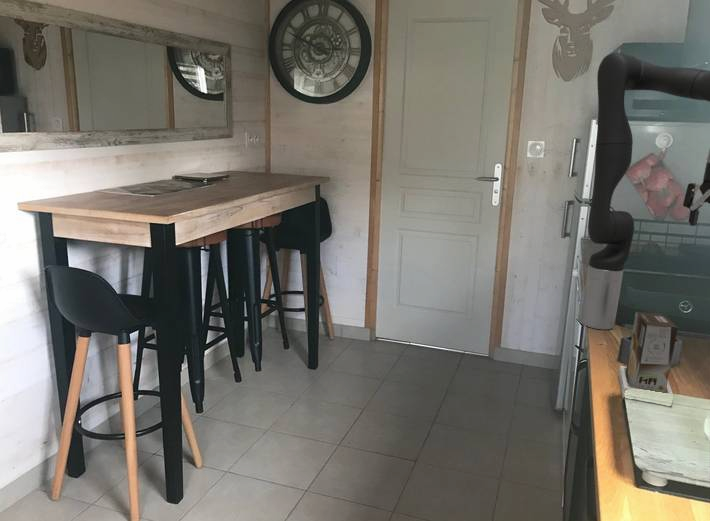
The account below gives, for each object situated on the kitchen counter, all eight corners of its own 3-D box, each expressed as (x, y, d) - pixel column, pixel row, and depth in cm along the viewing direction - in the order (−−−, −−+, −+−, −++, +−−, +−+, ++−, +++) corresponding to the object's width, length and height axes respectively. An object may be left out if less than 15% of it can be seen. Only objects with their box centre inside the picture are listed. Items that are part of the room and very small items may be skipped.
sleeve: (617, 361, 150) (621, 338, 148) (641, 350, 158) (645, 328, 156) (656, 375, 143) (660, 351, 141) (679, 363, 150) (683, 340, 149)
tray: (618, 375, 141) (620, 365, 141) (663, 383, 138) (665, 373, 138) (622, 398, 130) (624, 387, 129) (671, 407, 127) (673, 396, 126)
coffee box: (665, 398, 129) (679, 327, 125) (634, 395, 130) (647, 324, 126) (652, 380, 138) (665, 313, 134) (623, 377, 139) (634, 310, 135)
